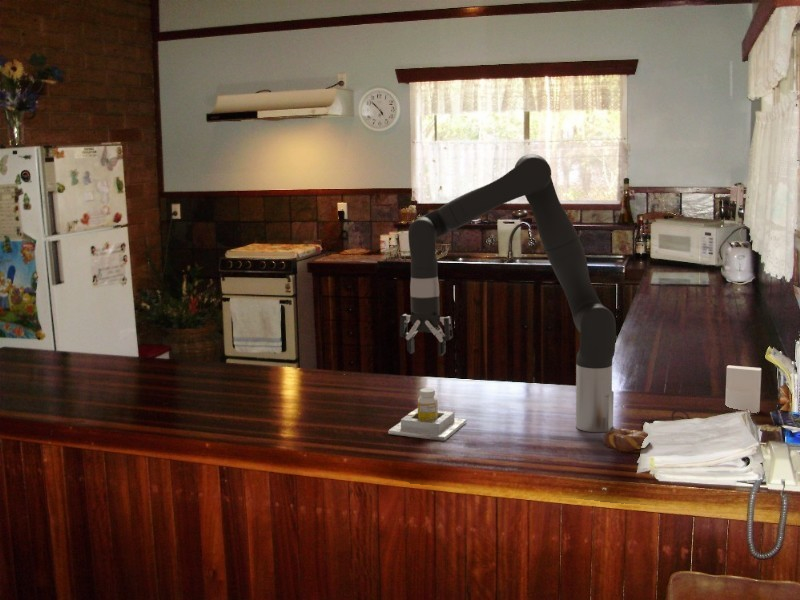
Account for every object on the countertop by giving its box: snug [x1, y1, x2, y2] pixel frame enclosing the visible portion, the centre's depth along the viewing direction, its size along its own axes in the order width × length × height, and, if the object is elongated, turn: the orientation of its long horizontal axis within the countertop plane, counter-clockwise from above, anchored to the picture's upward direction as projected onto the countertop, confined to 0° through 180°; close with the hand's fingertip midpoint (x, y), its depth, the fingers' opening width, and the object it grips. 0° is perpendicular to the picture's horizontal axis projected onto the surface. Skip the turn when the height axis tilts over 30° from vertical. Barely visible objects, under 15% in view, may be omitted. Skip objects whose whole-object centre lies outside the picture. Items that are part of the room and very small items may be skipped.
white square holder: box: [388, 407, 467, 442], centre depth 240 cm, size 16×16×4 cm
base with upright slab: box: [724, 364, 762, 414], centre depth 249 cm, size 9×9×12 cm
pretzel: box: [602, 428, 649, 452], centre depth 224 cm, size 12×11×4 cm
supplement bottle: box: [417, 387, 439, 421], centre depth 240 cm, size 5×5×10 cm
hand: (426, 354), depth 237 cm, fingers open, 8 cm apart
